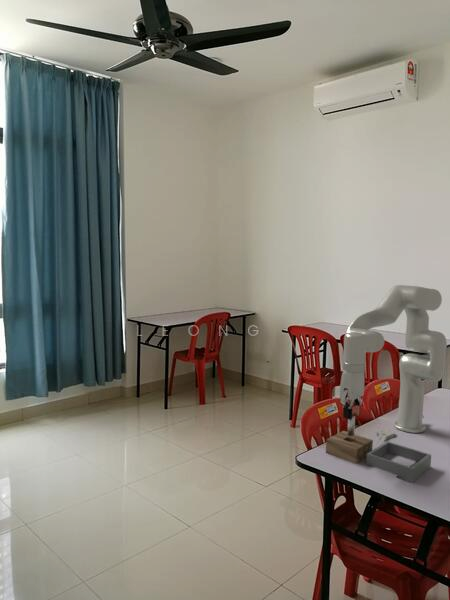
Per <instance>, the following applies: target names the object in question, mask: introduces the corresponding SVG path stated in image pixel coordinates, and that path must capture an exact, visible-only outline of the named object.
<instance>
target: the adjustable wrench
mask: <svg viewBox="0 0 450 600" xmlns="http://www.w3.org/2000/svg"><path fill="white" fill-rule="evenodd" d="M375 434H376V435H377V436H378V439H377V441H376V442H375V444H374V446H373V447H372V450H374V449H375V447H376V446H377V444H378V443H379V441H382V442H381V444H380V445H382V444H383V443H385V442H387V440H388V439H390V438H393V437H395V431H393V430H392V429H388V431H384V430H383V428H380V429H377V431H376V432H375Z"/></svg>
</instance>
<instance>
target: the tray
mask: <svg viewBox="0 0 450 600" xmlns="http://www.w3.org/2000/svg"><path fill="white" fill-rule="evenodd" d="M381 444H382V443H381ZM381 444H380V445H378V446H377V447H376V448H375V447H374V449H372V451H370V452H369V453H367V455H366V459H365V464H366V465H369V466H371V467H375V468H377V469H380V470H382V471H385V472H388V473H391V474H394V475H396V478H397V479H400V480H403V481H405V482H408V483H410V484H411V483H413V482H414V481H416V480H417V479H418V478H420V477H421V476H422V475H424V474H425V472H426V471H428V470H429V469H430V468H431V467H432V465H431V463H432V454H430V453H427V452H424V451H421V450H417V449H414V448H411V447H408V446H406V445H405V446H404V445H401V444H398V443H395V442H391V441H388V440H386V441H384V442H383V444H382V445H381ZM388 453H390V454H393V455H396V456H400V457H402V458H406V459H409V460H412V461H415V462H413V464H411V465H410V466H407V465H404V464H402V463H399V462H395V461H393V460H389V459H386V458H383V457H382V456H384V455H385V454H388Z"/></svg>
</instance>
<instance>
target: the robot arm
mask: <svg viewBox="0 0 450 600" xmlns="http://www.w3.org/2000/svg"><path fill="white" fill-rule="evenodd" d="M442 301H443V298H442V294H441V292H440V291H439V290H437V289H434V288H428V287H424V286H418V285H417V286H416V285H404V284H398V285H394V286H392V287H391V288H390V289H389V290H388V291H387V293H386V294H385V296H384V297H383V298H382V300H381V301H380V303H379V304H378V305H377V307H376V308H374V309H371V310H369V311H366V312H365V313H363V314H361V315H358V316H357V317H356V318H355V319H354V320H353V321H352V322H351V323H350V325H349V326H348V328H347V329H346V331H345V334H344V338H343V340H344V341H343V358H342V359H343V361H342V374H341V377H340V384H339V399H340V403H341V404H342V408H343V409H342V417H343V418H344V419H346V420H348V419H349V420H351V419H352V409H351V407H352V403H356V404H358V405H360V407H361V405H362V399H363V397H364V394H365V373H366V372H365V371H366V354H367V353H377V352H379V351H380V350H382V348H383V347H384V345H385V337H384V335H383V334H382V333H380V332H379V331H375V330H370V329H373V328H379V327H384V326H389V325H391V324H394V323H396V322H397V319H398V318H399V317H400V315H401V314H402V312H403V311H404V312H405V315H406V326H405V327H406V329H405V341H404V343H405V347H406V348H407V349H408V350H409V351H412V352H418V353H424V354H427V355H429V356H426V355H421V354H416V353H406V354H403V355H402V356H401V357H400V359H399V363H398V365H399V367H398V368H399V374H400V384H399V385H400V386H399V387H400V388H399V403H398V416H397V420H395V421H394V422H393V427H394V428H396V429H397V430H399V431H403V432H406V433H413V434H417V433H418V434H419V433H424V432H426V430H427V429H426V425H425V424H423V419H424V418H425V417H424V414H423V413H424V401H425V399H424V398H425V386H424V383H423V380H425V381H429V382H433V383H434V382H435V383H436V382H440V381H441V380H442V379H443V377H444V374H445V368H446V356H447V347H448V346H447V345H448V344H447V338H446V336H445V335H444V333H442V332H440V331H438V330H437V331H436V330H432V329H431V330H430V328H429V327H430V326H429V324H430V323H429V322H430V321H429V320H430V317H429V313H428V311H431V312H433V311H436V310H438V309H439V308H440V306H441V304H442ZM348 403H349V404H348ZM360 415H361V409H360V410H359V415H358V416H360Z"/></svg>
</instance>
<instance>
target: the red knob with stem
mask: <svg viewBox="0 0 450 600" xmlns="http://www.w3.org/2000/svg"><path fill="white" fill-rule="evenodd" d="M348 404H349V402H348ZM360 405H361V404H360ZM360 405H358V404H356V403H353V402H352V407H351V409H352V419H351V420H349V419H347V431H346V432H347V434H348V435H349V436H354V434H355V428H356V427H355V425H356V416H360V415H359V410H360V411H361V406H360Z"/></svg>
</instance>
